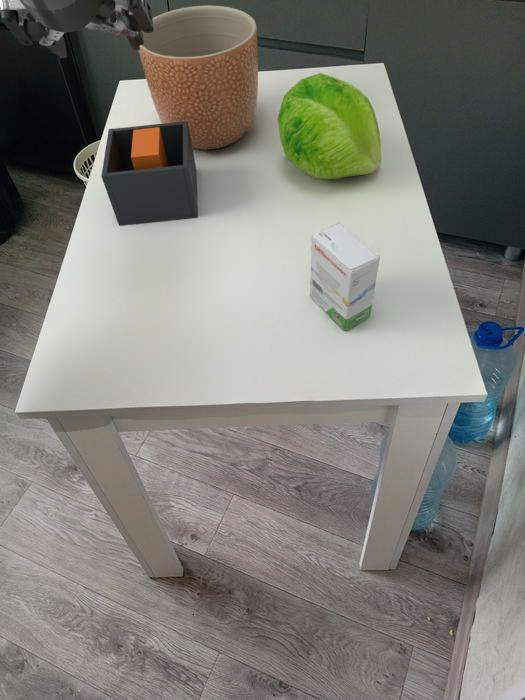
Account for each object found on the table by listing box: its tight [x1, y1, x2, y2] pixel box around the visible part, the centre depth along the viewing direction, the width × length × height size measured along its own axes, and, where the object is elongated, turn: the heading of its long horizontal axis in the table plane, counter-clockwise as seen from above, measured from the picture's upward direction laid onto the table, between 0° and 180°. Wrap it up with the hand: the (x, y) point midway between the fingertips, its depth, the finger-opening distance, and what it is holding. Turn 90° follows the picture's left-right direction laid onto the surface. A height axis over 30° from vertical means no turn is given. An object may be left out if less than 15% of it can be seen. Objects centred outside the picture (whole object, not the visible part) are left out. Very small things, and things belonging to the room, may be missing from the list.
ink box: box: [309, 222, 381, 332], centre depth 69 cm, size 8×5×12 cm, turn 33°
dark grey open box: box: [100, 121, 199, 226], centre depth 88 cm, size 14×14×10 cm
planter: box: [138, 5, 259, 150], centre depth 95 cm, size 21×21×19 cm
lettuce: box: [277, 72, 382, 180], centre depth 88 cm, size 17×20×16 cm
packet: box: [131, 127, 169, 170], centre depth 87 cm, size 4×8×10 cm, turn 6°
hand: (99, 45), depth 59 cm, fingers open, 8 cm apart
